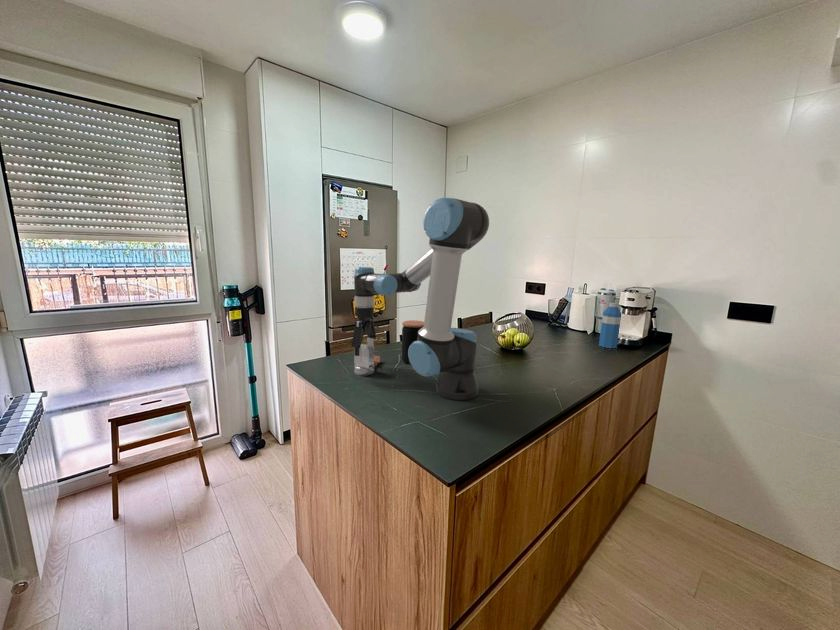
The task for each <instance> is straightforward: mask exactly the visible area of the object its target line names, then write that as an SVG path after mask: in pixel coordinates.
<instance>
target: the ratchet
mask: <svg viewBox="0 0 840 630" xmlns="http://www.w3.org/2000/svg"><path fill="white" fill-rule="evenodd" d="M380 362H381V356H380V355H374V364H373V365H372V366H371V367H370V368H359V367H355V366H354V375H356V376H359V377H360V376H361V377H368V376H371V375H373V374H375V368H376V367H377V365H378V364H380Z"/></svg>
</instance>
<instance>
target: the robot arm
mask: <svg viewBox="0 0 840 630" xmlns="http://www.w3.org/2000/svg"><path fill="white" fill-rule="evenodd" d="M422 224H423V229H424V231H425V235H426V236H427V237H428V238H429V242H428V246H430V249H428V250H427V251H425V253H424V254H423V255H421V257H419V258H417V260H416V261H415V262H413V263H412V264H411V265H410V266H409V267H407V268H406V269H405V270H403V271H402V272H400V273H399V272H398V273H397V272H396V273H376V272H375V269H374V268H373V267H372V266H371V267H370V266H356V267H355V268H354V276H353V279H354V281H353V282H354V283H353V284H354V286H353V287H354V297H353V300H354V306H355V307H354V317H356V318H358V321H354V328H353V334H352V340H351V345H350V346H351V348H354V349H353V356H354V357H353V359H354V360H353V362H354V363H353V364H355V363H359V364H361V363H362V347H360V346H361V344H362V342H363V338H364V335H365V333H366V335H367V337H366V345H374V344H375V343H374V338H375V339H376V338H377V336H376V334H377V333H376V328H375V323H374V322H375V321H374V315H375V307H374V306H375V295H381V296H392V295H393V294H399V293H412V292H416V291H418V290H420V287H421V285H422V282H424V281H425V280H427V278H429V281H428V288H427V289H428V291H427V298H426V304H425V305H426V307H425V312H424V313H425V315H424V321H423V322H424V326H423V327H422V328H421V329H420V330H419V331H418V337H417V341H414V342H413V343H412V344H411V345H410V347H409V350H408V357H409V361H410V363H411V364H410V365H411V366H412V368H413V370H414V371H415V372H416V373H417V374H418V375H420V376H423V377H431V376H437V375H438V374H439V377H438V378H437V382H436V386H435V391H436V393H437V394H438V396H441V397H443V398H445V399H450V400H454V401H466V400H467V401H468V400H472V399H474V398H476V397H477V396H478V394H479V385H478V381H477V377H476V373H475V369H476V353H477V352H476V351H477V344H478V343H477V333H475V331H473V330H469V329H465V328H459V327H452V323H453V317H454V310H455V303H456V296H457V290H458V285H459V284H458V283H459V282H458V281H459V276H460V270H461V263H462V257H463V254H464V253H465V252H467V251H469V250H471V249H472V248H473V247H474V246H476V245H477V244H479V243H480V242H481V241H482V240H483V238H485V236H486V234H487V232H488V231H489V227H490V217H489V215H488V211H487V210H486V209H485V208H484V207H483V206H482V205H480V204H479V203H476V202H472V201H471V202H470V201H467V200H462V199H458V198H455V197H440V198H437V199H436V200H434V201H433V202H432V203H431V204H430V205H429V206H428V207H427V209H426V211H425V213H424V217H423V223H422ZM374 346H375V345H374Z"/></svg>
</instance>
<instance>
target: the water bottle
mask: <svg viewBox="0 0 840 630" xmlns="http://www.w3.org/2000/svg"><path fill="white" fill-rule="evenodd" d="M618 304H619V303H618V302H609V304H608V305H609V306H608V307H607V308H605V309H604V310H603V312H602V318H601V320H602V321H601V326H600V334H599V340H598V341H599V343H598V347H599V346H602V347H606V348H616V349H617V348H618V341H619V332H620V326H621V319H622V312H621V310H620V309H619V307H618Z"/></svg>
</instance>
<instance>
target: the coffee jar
mask: <svg viewBox="0 0 840 630" xmlns="http://www.w3.org/2000/svg"><path fill="white" fill-rule="evenodd" d="M423 326H424V321H421V320H405V321H402V328H401V360H402V362H403V363H404V364H407V365H411V363H410V361H409V357H408V350H409V347H410V345H411V344H412V343H413V342H414V341H417V337H418V331H419V330H420V329H421V328H422V327H423Z"/></svg>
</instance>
